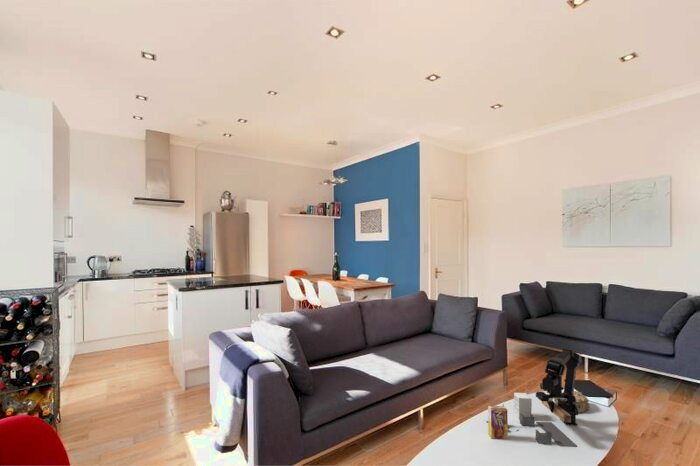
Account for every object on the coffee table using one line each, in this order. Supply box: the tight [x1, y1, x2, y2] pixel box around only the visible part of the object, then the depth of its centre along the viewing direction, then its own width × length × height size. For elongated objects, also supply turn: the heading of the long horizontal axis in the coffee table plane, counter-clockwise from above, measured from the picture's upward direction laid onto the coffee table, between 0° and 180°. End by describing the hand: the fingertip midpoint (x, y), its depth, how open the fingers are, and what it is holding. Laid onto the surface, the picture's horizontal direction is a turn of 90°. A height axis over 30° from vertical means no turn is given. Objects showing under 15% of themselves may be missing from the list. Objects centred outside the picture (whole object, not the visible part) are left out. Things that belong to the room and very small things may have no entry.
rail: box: [541, 401, 571, 423], centre depth 178 cm, size 4×20×4 cm, turn 0°
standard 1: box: [519, 414, 536, 428], centre depth 186 cm, size 7×3×6 cm, turn 89°
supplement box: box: [513, 392, 533, 420], centre depth 195 cm, size 7×7×13 cm
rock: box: [553, 390, 591, 414], centre depth 208 cm, size 21×14×10 cm
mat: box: [535, 421, 578, 448], centre depth 178 cm, size 9×22×1 cm, turn 179°
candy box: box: [487, 405, 509, 440], centre depth 174 cm, size 9×4×15 cm, turn 89°
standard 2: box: [535, 429, 553, 445], centre depth 170 cm, size 7×3×6 cm, turn 89°
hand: (555, 412), depth 178 cm, fingers closed on rail, 3 cm apart
